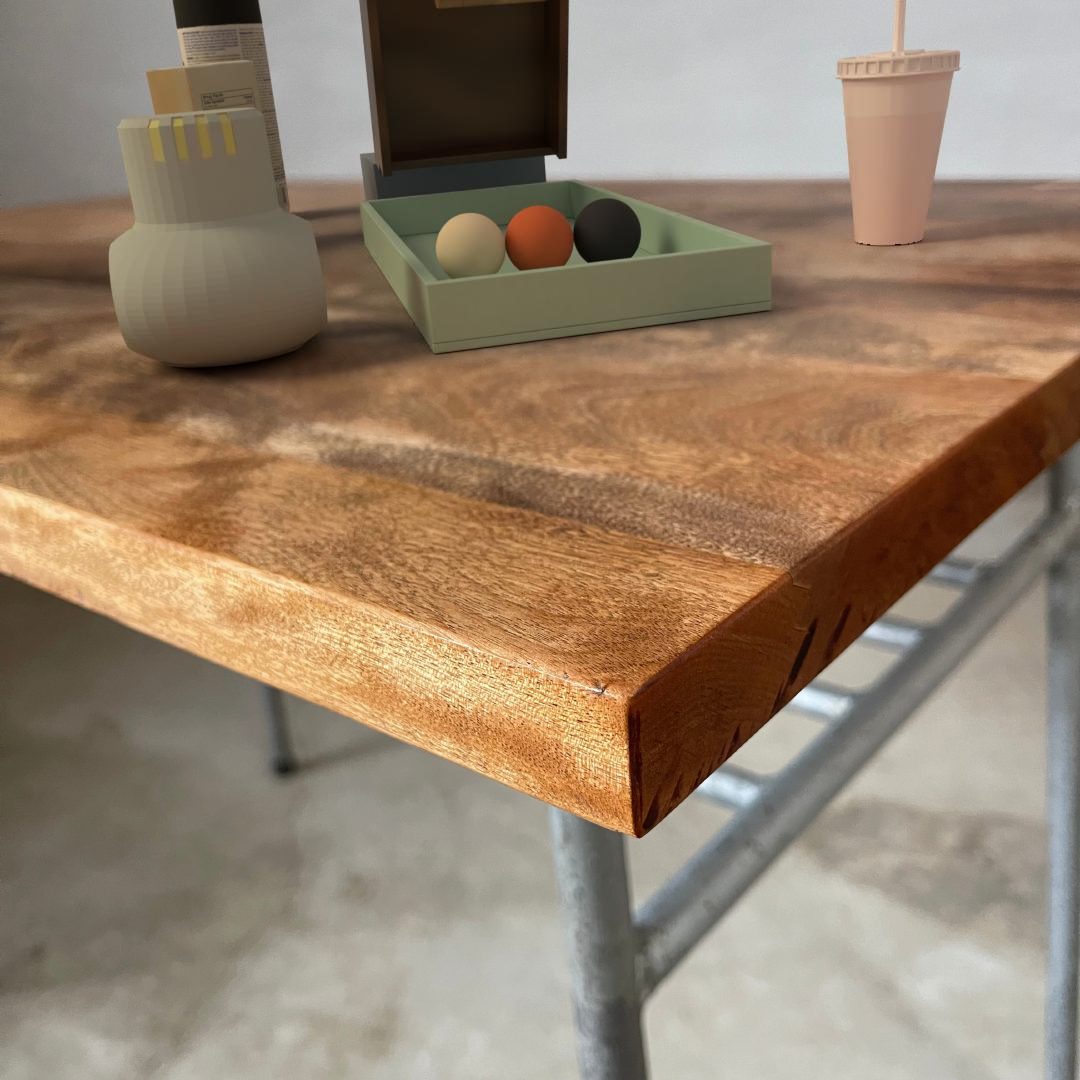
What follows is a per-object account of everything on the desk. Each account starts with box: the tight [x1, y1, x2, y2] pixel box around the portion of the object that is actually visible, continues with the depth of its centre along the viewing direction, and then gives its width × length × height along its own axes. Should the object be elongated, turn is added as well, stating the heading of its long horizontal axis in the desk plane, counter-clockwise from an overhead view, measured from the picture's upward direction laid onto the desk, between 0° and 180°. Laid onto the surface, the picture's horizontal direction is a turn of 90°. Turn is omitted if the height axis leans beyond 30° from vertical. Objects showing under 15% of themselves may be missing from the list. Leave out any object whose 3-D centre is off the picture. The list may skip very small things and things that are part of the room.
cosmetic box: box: [145, 60, 262, 115], centre depth 78 cm, size 6×4×12 cm
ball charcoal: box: [573, 198, 641, 263], centre depth 59 cm, size 4×4×4 cm
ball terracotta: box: [505, 206, 574, 271], centre depth 58 cm, size 4×4×4 cm
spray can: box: [172, 0, 291, 213], centre depth 90 cm, size 7×7×20 cm
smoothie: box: [834, 0, 962, 246], centre depth 61 cm, size 6×6×14 cm
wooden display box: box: [358, 0, 570, 177], centre depth 68 cm, size 14×12×12 cm
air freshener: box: [108, 108, 328, 368], centre depth 48 cm, size 11×8×10 cm
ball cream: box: [436, 213, 506, 279], centre depth 58 cm, size 4×4×4 cm
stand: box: [359, 152, 547, 201], centre depth 84 cm, size 11×12×5 cm
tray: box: [358, 178, 773, 354], centre depth 62 cm, size 33×15×3 cm, turn 13°
